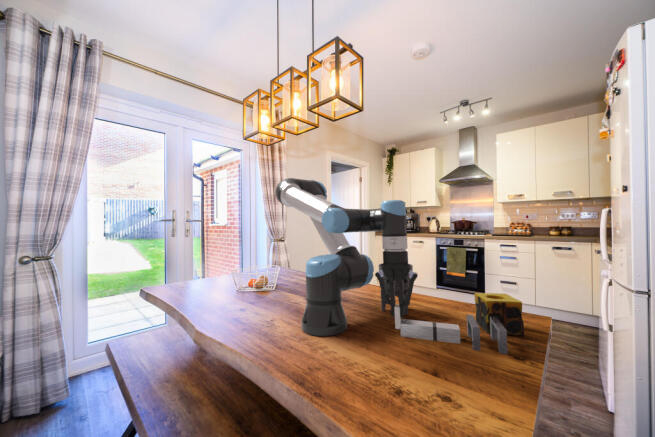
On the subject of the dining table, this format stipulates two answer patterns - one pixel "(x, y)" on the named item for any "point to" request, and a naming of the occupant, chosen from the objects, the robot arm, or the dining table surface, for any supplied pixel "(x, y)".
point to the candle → (499, 312)
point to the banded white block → (430, 331)
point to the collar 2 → (498, 334)
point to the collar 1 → (473, 332)
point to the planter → (396, 288)
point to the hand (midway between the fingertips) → (398, 327)
